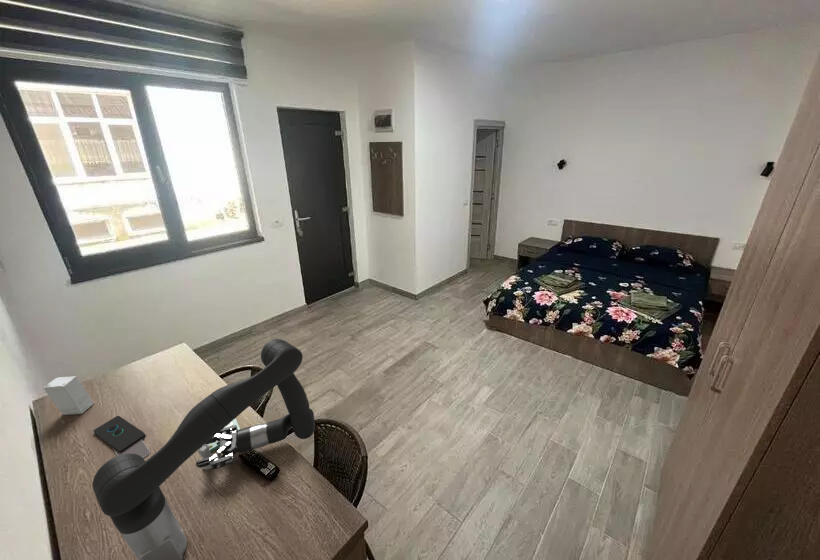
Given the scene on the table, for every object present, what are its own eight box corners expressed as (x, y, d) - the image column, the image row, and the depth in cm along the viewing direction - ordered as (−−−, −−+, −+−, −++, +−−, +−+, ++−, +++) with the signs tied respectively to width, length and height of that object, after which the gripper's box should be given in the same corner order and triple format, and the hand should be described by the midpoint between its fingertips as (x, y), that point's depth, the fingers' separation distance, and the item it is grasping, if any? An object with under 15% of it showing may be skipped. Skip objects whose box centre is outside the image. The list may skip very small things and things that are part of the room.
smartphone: (136, 431, 119) (150, 452, 111) (137, 433, 120) (151, 454, 111) (111, 446, 114) (124, 468, 105) (112, 447, 114) (125, 470, 106)
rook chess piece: (214, 455, 109) (207, 439, 106) (220, 463, 107) (213, 446, 104) (200, 465, 106) (192, 448, 103) (205, 473, 104) (198, 456, 100)
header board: (242, 434, 117) (241, 430, 116) (208, 453, 110) (206, 448, 110) (230, 406, 129) (228, 402, 129) (199, 421, 123) (197, 417, 122)
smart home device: (118, 414, 126) (145, 433, 117) (120, 417, 126) (147, 436, 118) (91, 430, 119) (119, 451, 110) (93, 433, 120) (121, 455, 111)
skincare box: (94, 403, 133) (78, 375, 127) (81, 414, 128) (64, 386, 122) (74, 404, 133) (57, 376, 127) (60, 415, 128) (41, 387, 122)
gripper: (253, 413, 113) (200, 427, 108) (249, 446, 101) (190, 464, 96) (257, 429, 116) (207, 443, 111) (255, 462, 104) (198, 480, 99)
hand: (199, 453), depth 104 cm, fingers open, 8 cm apart
